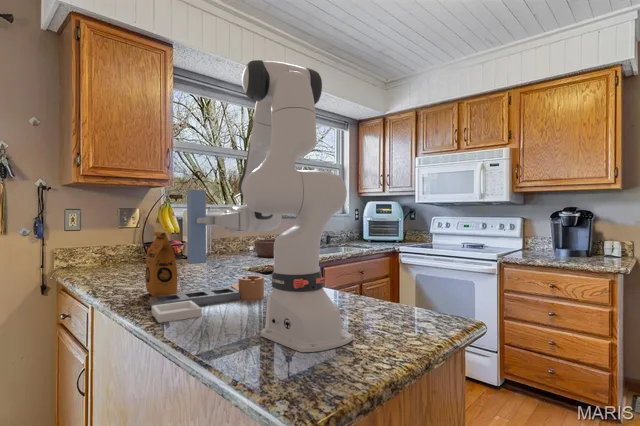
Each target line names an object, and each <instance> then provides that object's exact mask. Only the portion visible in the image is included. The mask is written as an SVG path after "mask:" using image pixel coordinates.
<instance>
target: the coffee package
mask: <svg viewBox="0 0 640 426" xmlns="http://www.w3.org/2000/svg"><path fill="white" fill-rule="evenodd" d="M153 236H154V237H155V239H154V240H153V241H152V243H151V245H149V247H148V250H147V252H146V258H145V259H146V261H145V275H144V277H145V286H146V292H147V293H148V294H149V295H150V296H151V297H155V296H163V295H172V294H178V285H179V284H178V266H177V265H178V264H177V260H176V257H175V252H174V249H173V247H172V245H171V243H170V241H169V238H168V235H167V233H166V232H163V231H158V230H157V231H155V232H154V234H153Z"/></svg>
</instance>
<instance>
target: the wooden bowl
mask: <svg viewBox="0 0 640 426" xmlns="http://www.w3.org/2000/svg"><path fill="white" fill-rule="evenodd" d="M275 240H276V238H275V239H274V238H272V239H271V238H270V239H269V238H267V239H266V238H265V239H256V240H254V249H255V252H256V255H258V257H260V258H274V242H275Z"/></svg>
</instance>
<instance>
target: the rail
mask: <svg viewBox="0 0 640 426" xmlns="http://www.w3.org/2000/svg"><path fill="white" fill-rule="evenodd" d="M184 301H193V302H194V303H195V304H196V305H198V306H199V307H200V306H206V305H214V304H221V303H227V302H234V301H242V300H241V292H239V291H237V290H235V289H233V288H231V287H225V288H223V287H222V288H216V289H208V290H207V289H205V290H198V291H190V292H181V293H177V294H172V295H163V296H155V297H153V296H149V306H150V308H151V309H152V306H153V305H161V304H169V303H176V302H184Z"/></svg>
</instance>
